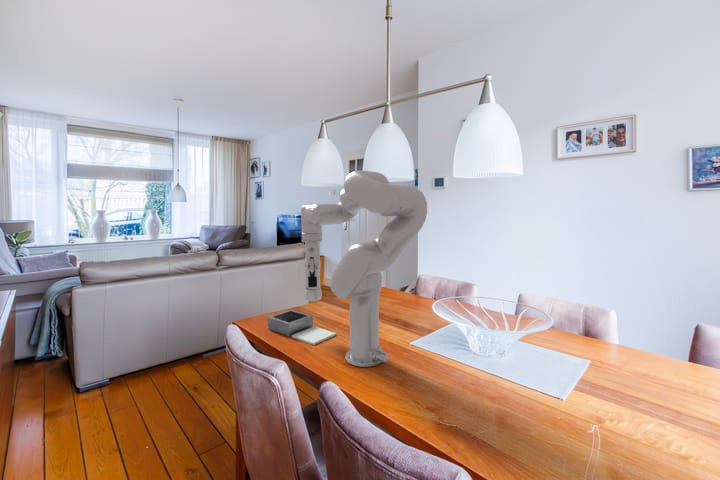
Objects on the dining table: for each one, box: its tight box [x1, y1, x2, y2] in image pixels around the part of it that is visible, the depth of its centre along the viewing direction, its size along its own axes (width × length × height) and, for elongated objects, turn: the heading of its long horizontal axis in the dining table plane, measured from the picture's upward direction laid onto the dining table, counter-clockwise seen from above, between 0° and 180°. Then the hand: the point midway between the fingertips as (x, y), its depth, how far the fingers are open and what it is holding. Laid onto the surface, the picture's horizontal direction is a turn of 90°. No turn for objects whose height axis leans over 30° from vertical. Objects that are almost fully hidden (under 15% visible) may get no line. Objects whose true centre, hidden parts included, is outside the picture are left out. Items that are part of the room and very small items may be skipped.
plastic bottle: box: [302, 249, 323, 302], centre depth 126 cm, size 6×7×20 cm
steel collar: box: [267, 309, 314, 338], centre depth 137 cm, size 13×12×5 cm
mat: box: [291, 326, 337, 346], centre depth 129 cm, size 12×12×1 cm
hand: (312, 284), depth 127 cm, fingers closed on plastic bottle, 5 cm apart
